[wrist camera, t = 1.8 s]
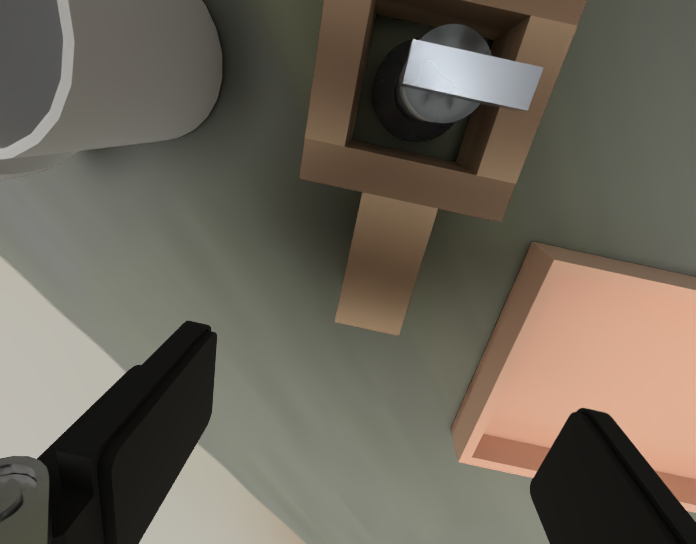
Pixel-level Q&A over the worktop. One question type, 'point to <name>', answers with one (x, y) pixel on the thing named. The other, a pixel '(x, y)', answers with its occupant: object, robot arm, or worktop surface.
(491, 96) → the grey piece
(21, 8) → the cup
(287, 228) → the worktop surface
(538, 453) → the tray
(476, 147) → the brown square frame
